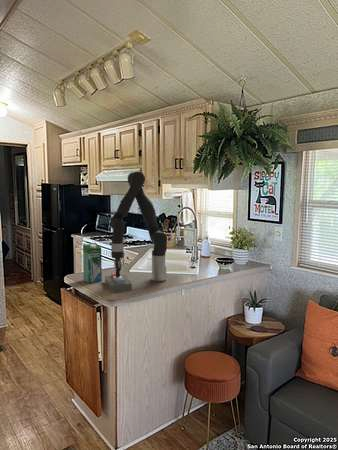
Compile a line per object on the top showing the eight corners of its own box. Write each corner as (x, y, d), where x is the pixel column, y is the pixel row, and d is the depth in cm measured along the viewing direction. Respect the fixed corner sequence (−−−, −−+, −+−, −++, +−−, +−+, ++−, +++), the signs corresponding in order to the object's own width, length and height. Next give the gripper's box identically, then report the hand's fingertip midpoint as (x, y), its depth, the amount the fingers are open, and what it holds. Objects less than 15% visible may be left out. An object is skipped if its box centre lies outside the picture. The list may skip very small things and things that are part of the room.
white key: (120, 280, 212) (120, 275, 212) (122, 282, 207) (122, 277, 207) (113, 280, 211) (113, 276, 210) (114, 283, 206) (114, 278, 205)
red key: (118, 276, 219) (118, 271, 218) (120, 278, 214) (120, 273, 214) (111, 276, 217) (111, 272, 217) (112, 278, 212) (112, 274, 212)
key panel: (124, 280, 222) (124, 274, 221) (131, 290, 201) (131, 283, 201) (105, 281, 217) (104, 276, 217) (110, 292, 197) (110, 285, 196)
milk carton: (88, 283, 213) (88, 245, 210) (83, 280, 221) (82, 243, 218) (101, 281, 219) (101, 244, 216) (96, 278, 226) (95, 242, 223)
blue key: (123, 282, 205) (123, 277, 205) (124, 284, 201) (124, 279, 200) (115, 282, 204) (115, 278, 203) (116, 285, 199) (116, 280, 199)
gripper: (125, 251, 202) (125, 279, 204) (121, 247, 214) (121, 273, 216) (113, 252, 199) (113, 280, 201) (109, 248, 211) (110, 274, 214)
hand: (117, 276), depth 209 cm, fingers closed
